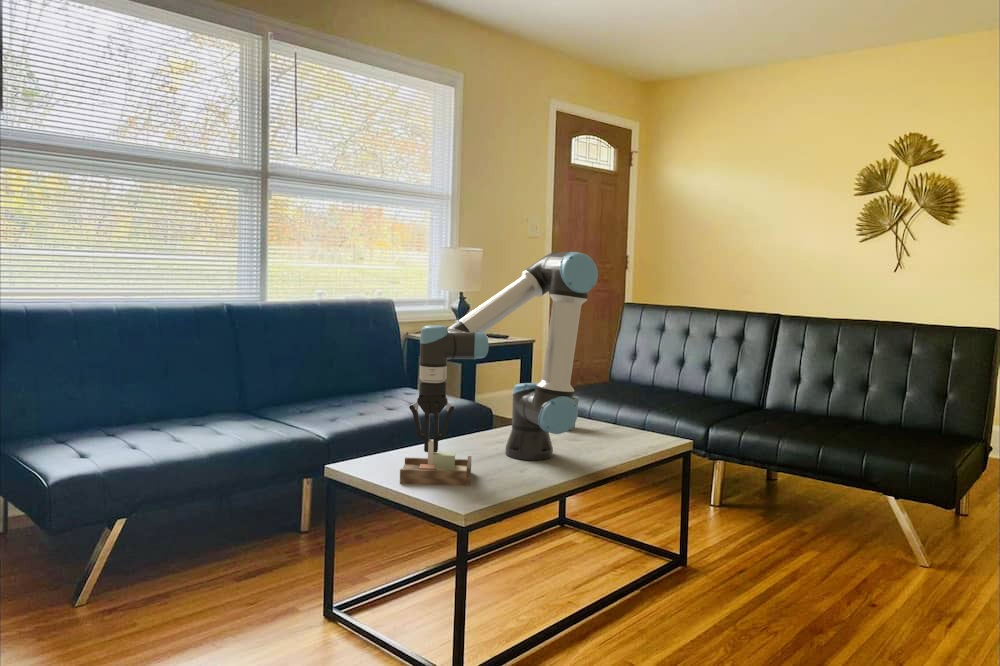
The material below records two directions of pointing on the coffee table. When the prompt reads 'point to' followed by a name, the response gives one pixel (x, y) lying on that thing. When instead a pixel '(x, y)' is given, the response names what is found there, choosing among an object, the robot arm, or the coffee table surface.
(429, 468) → the rust block
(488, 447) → the coffee table surface
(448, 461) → the sage block
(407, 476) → the wooden tray
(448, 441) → the coffee table surface
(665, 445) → the coffee table surface
